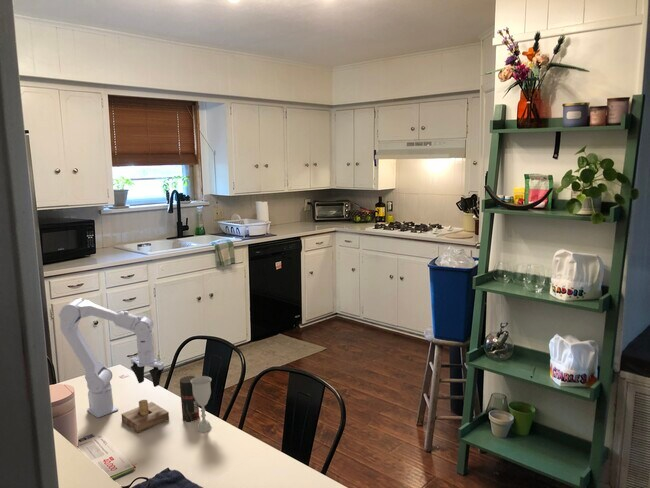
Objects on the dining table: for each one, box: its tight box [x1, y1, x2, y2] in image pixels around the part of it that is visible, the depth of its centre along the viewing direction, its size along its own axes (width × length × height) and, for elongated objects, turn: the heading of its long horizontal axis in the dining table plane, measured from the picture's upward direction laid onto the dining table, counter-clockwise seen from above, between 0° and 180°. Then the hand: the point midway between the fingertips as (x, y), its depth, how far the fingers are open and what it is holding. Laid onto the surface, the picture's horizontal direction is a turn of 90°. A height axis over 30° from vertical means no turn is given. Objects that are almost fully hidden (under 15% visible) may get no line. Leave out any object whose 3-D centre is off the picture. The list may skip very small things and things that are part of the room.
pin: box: [138, 399, 149, 417], centre depth 190 cm, size 3×3×7 cm
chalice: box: [190, 375, 213, 433], centre depth 183 cm, size 7×7×18 cm
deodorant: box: [179, 375, 200, 423], centre depth 190 cm, size 6×6×15 cm
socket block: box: [120, 401, 170, 434], centre depth 190 cm, size 12×12×3 cm
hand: (148, 383), depth 198 cm, fingers open, 7 cm apart
